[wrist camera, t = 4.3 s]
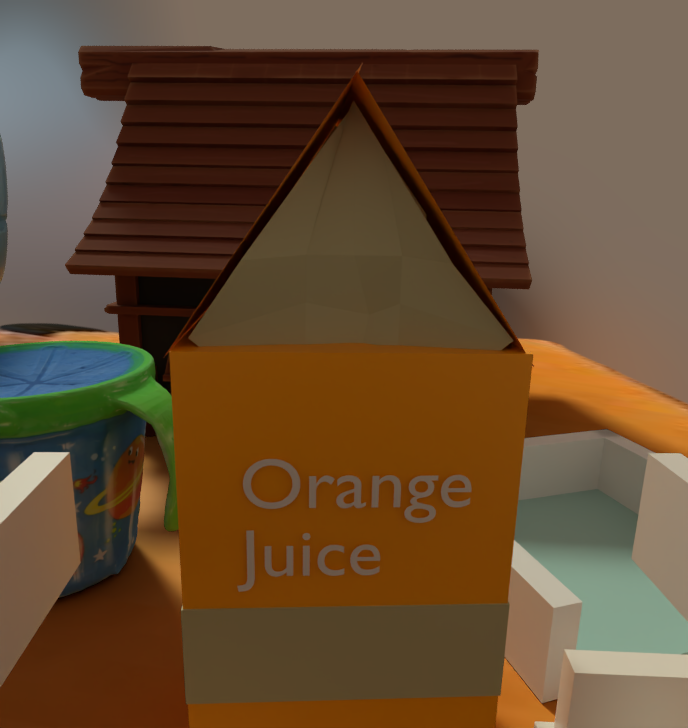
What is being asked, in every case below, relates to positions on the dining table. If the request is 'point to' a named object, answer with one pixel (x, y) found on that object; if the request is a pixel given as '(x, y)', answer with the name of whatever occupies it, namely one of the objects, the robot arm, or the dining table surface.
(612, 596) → the tray
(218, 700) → the orange juice
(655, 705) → the clip
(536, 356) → the dining table surface
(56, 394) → the snack cup
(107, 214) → the house
